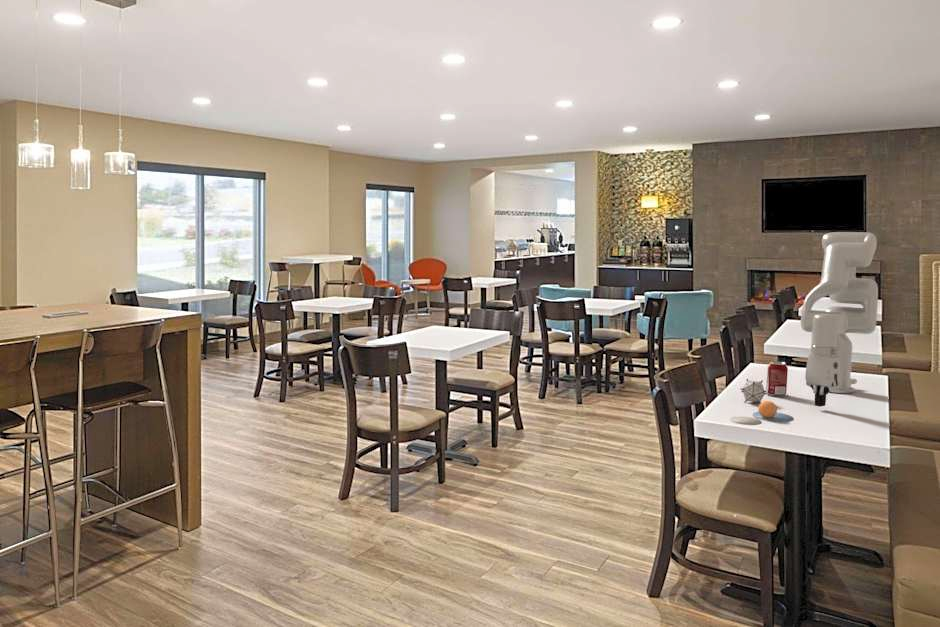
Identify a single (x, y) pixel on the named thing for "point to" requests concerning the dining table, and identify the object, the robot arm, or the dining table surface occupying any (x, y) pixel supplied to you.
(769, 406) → the ball
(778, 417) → the disc
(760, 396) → the game die
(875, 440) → the dining table surface
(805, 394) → the dining table surface
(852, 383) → the robot arm
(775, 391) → the soda can
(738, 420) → the far disc
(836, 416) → the dining table surface
